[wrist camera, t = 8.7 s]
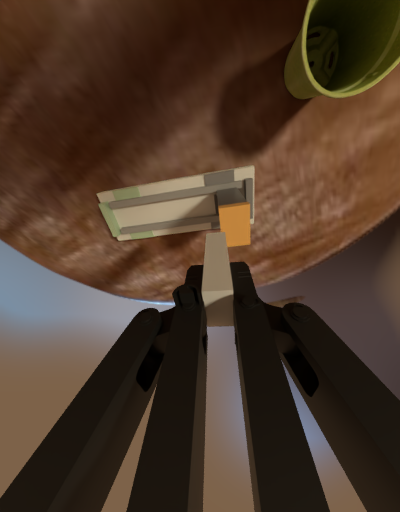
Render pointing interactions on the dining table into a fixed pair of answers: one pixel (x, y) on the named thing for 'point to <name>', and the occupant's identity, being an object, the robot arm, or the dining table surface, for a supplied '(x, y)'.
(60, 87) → the dining table surface
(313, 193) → the dining table surface
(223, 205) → the handle
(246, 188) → the board
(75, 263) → the dining table surface
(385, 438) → the robot arm
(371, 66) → the plant pot
